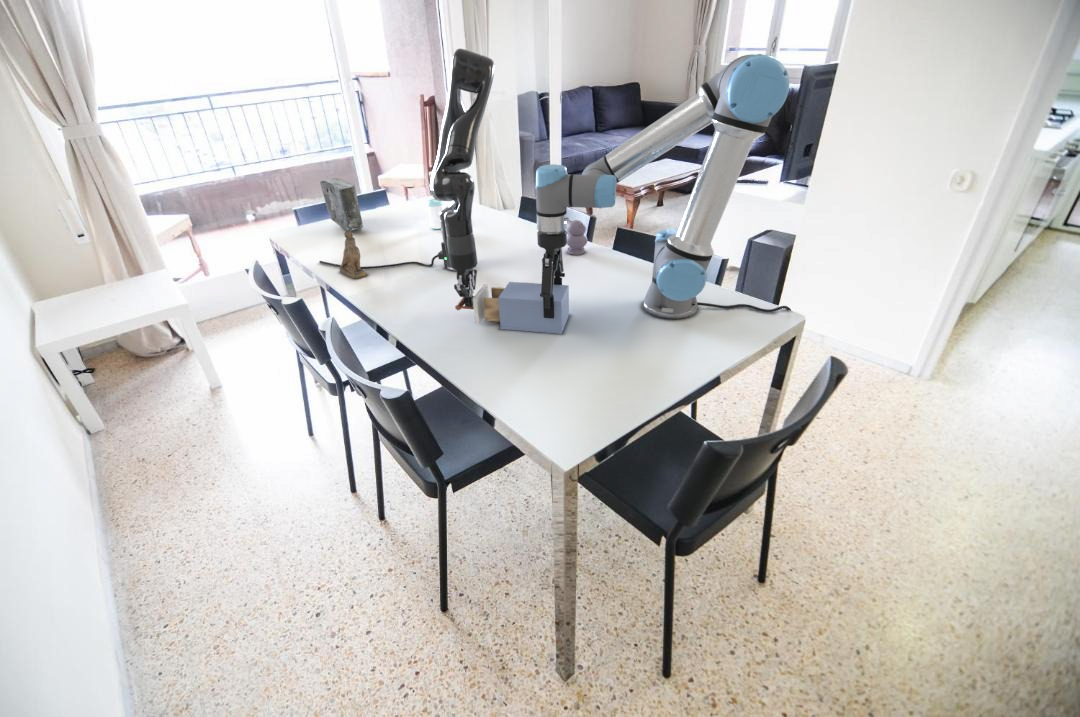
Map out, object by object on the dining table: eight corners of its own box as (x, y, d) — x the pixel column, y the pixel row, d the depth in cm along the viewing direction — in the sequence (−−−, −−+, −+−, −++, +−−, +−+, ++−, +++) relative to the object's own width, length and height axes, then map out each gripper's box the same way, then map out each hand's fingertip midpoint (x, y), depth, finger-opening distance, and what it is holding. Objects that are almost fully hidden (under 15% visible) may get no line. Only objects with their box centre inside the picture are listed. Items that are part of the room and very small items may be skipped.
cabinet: (500, 329, 138) (497, 297, 133) (511, 311, 148) (509, 281, 143) (561, 334, 135) (561, 301, 130) (568, 315, 144) (568, 285, 139)
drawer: (455, 321, 141) (452, 297, 137) (467, 306, 149) (464, 283, 145) (530, 327, 137) (529, 302, 133) (538, 311, 145) (537, 287, 141)
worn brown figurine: (368, 281, 178) (362, 235, 166) (353, 285, 175) (347, 238, 163) (352, 266, 184) (346, 221, 172) (338, 270, 181) (331, 224, 169)
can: (445, 229, 220) (441, 202, 214) (429, 230, 220) (425, 202, 214) (447, 224, 226) (444, 198, 220) (432, 225, 226) (428, 198, 220)
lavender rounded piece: (591, 251, 189) (592, 220, 183) (578, 257, 185) (578, 225, 178) (574, 246, 195) (574, 216, 188) (561, 252, 190) (560, 221, 183)
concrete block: (368, 232, 220) (358, 186, 209) (348, 237, 216) (336, 189, 205) (349, 220, 239) (338, 176, 228) (330, 223, 234) (319, 179, 224)
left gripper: (466, 258, 128) (474, 318, 137) (482, 241, 139) (488, 298, 148) (439, 257, 130) (449, 316, 139) (457, 241, 141) (465, 297, 150)
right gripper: (557, 246, 116) (558, 328, 127) (574, 217, 135) (573, 291, 147) (526, 244, 117) (530, 326, 129) (547, 216, 137) (548, 290, 148)
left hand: (469, 307), depth 144 cm, fingers closed
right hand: (553, 308), depth 138 cm, fingers closed on cabinet, 11 cm apart
